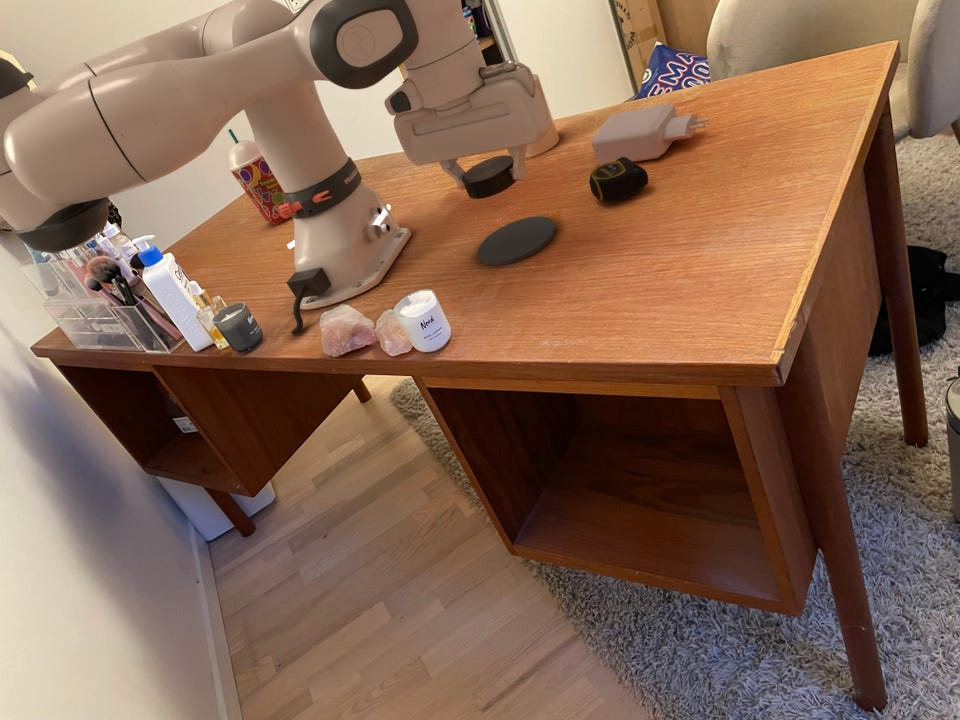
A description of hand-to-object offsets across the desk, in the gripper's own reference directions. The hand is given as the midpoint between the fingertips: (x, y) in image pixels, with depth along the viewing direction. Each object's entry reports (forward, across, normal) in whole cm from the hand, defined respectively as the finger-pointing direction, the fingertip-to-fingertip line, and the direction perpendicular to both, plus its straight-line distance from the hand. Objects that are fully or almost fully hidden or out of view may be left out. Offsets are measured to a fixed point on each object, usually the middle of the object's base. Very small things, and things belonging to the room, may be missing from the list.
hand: (493, 183), depth 87 cm
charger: (+9, -12, -23) cm, 28 cm away
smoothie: (+9, +69, -20) cm, 72 cm away
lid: (-2, 0, 0) cm, 2 cm away
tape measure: (+9, -12, -11) cm, 18 cm away
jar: (+9, +12, -32) cm, 35 cm away
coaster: (+9, 0, 0) cm, 9 cm away
